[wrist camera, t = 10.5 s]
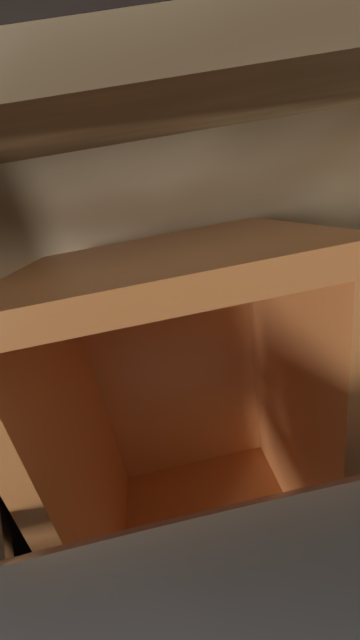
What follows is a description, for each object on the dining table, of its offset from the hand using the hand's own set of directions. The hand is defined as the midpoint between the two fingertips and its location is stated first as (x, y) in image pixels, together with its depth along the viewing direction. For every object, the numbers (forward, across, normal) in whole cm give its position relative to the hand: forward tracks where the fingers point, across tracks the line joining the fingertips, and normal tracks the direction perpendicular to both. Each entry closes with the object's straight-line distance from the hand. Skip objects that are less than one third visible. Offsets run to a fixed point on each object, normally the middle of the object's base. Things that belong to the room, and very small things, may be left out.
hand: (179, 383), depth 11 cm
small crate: (+1, 0, 0) cm, 1 cm away
